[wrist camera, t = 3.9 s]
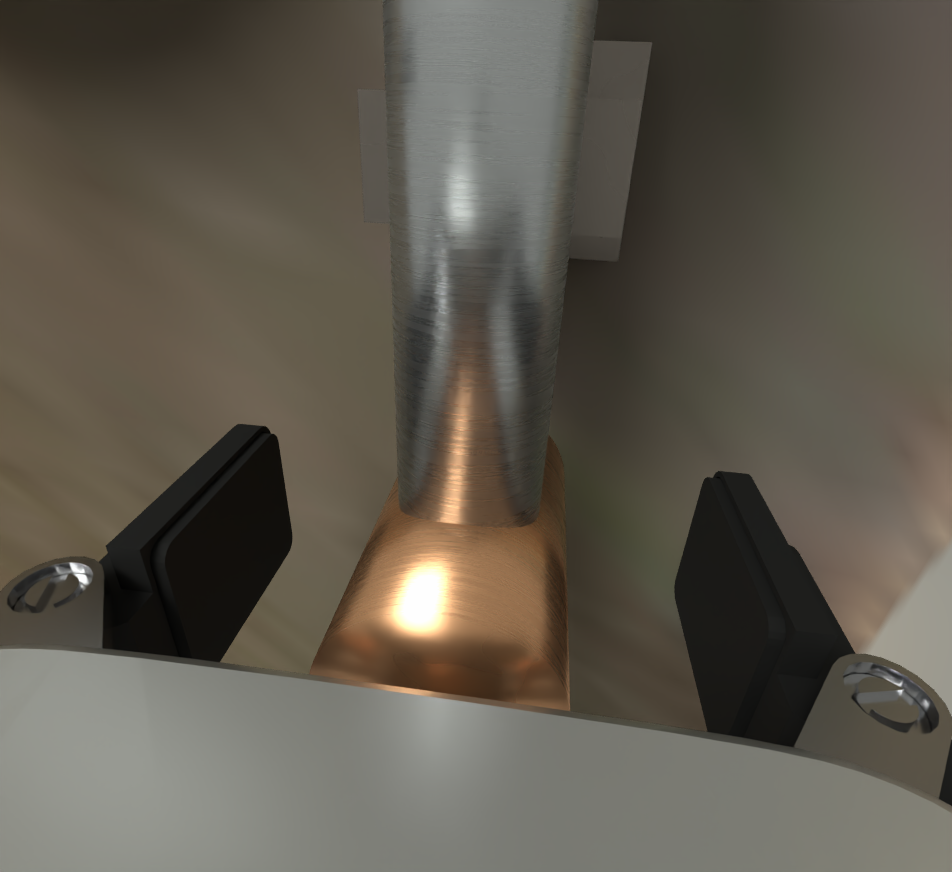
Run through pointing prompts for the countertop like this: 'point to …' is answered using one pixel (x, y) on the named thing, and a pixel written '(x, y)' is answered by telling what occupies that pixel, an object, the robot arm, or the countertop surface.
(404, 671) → the hook rod
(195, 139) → the countertop surface
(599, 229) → the cradle
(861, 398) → the countertop surface
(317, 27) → the countertop surface
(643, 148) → the countertop surface
